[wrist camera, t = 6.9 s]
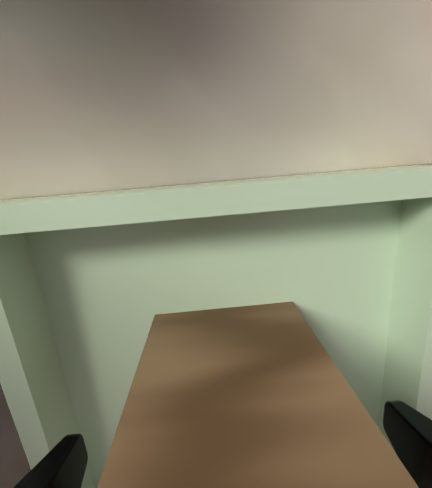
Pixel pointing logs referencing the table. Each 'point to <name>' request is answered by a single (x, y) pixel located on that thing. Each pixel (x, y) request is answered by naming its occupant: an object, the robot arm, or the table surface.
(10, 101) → the table surface
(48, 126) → the table surface
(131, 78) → the table surface
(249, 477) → the walnut block
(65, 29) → the table surface
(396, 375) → the tray
